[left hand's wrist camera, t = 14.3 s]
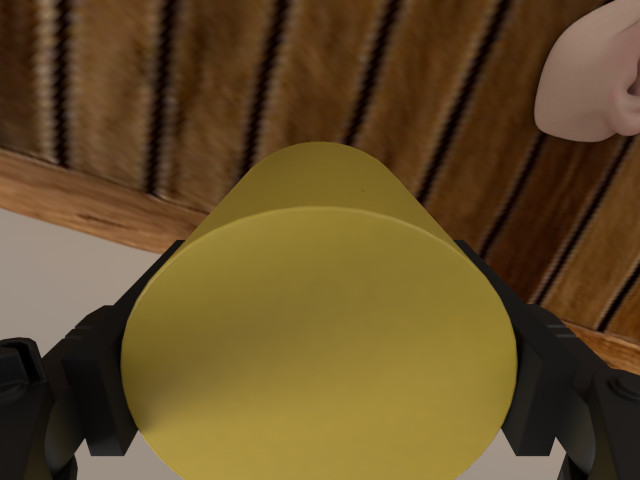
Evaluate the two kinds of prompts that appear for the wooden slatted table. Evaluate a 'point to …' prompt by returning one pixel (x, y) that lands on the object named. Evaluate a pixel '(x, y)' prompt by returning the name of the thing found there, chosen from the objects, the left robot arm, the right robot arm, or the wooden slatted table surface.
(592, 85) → the anatomical model
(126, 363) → the canister
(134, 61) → the wooden slatted table surface
